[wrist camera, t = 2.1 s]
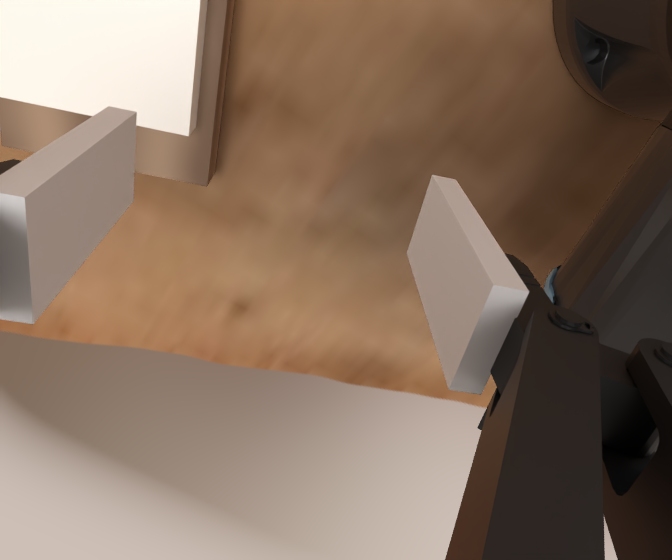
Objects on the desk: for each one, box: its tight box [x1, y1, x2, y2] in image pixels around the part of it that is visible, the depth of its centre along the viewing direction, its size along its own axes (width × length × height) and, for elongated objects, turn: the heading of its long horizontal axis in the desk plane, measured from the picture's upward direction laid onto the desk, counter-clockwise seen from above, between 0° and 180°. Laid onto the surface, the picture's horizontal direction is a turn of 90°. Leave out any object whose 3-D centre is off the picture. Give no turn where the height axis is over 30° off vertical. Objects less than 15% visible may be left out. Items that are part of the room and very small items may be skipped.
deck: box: [0, 0, 235, 186], centre depth 30 cm, size 12×14×3 cm
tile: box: [0, 0, 208, 136], centre depth 28 cm, size 10×7×2 cm
